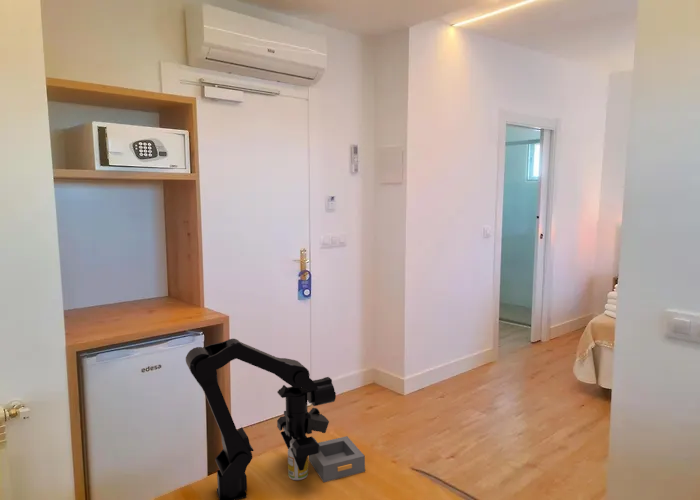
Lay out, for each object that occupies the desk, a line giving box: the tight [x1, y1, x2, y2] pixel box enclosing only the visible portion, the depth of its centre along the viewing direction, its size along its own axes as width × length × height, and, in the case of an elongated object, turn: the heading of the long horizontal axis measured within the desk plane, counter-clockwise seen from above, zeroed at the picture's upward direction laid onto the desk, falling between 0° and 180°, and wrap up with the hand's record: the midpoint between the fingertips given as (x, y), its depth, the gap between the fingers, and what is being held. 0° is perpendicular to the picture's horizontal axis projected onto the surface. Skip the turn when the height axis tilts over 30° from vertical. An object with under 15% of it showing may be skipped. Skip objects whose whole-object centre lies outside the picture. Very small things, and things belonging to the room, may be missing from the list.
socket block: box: [308, 435, 366, 483], centre depth 137 cm, size 12×12×4 cm
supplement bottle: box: [287, 439, 309, 481], centre depth 133 cm, size 5×5×10 cm
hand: (298, 464), depth 133 cm, fingers closed on supplement bottle, 5 cm apart
